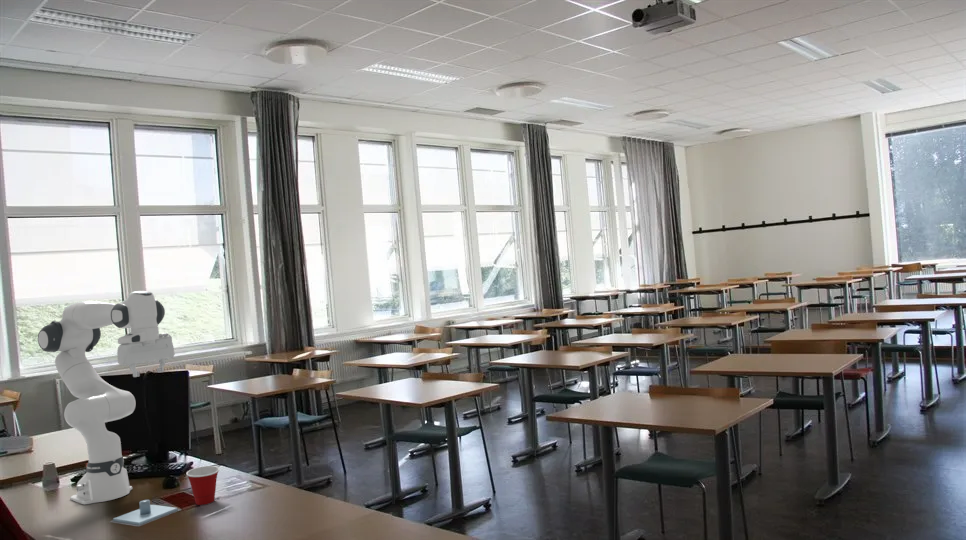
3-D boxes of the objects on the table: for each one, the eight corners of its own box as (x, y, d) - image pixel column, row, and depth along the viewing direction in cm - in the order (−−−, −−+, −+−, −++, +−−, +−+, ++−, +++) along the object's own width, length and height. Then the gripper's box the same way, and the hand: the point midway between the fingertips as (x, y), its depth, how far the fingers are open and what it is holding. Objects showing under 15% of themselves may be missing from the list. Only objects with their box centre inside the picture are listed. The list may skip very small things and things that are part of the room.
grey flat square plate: (108, 523, 227) (108, 521, 227) (152, 507, 241) (152, 505, 241) (138, 528, 220) (138, 526, 220) (182, 511, 234) (182, 509, 234)
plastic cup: (199, 511, 232) (196, 475, 232) (182, 507, 238) (179, 472, 239) (228, 501, 241) (225, 466, 241) (211, 497, 247) (208, 464, 247)
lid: (113, 520, 228) (112, 506, 228) (151, 506, 240) (150, 493, 240) (139, 524, 221) (138, 510, 221) (177, 510, 233) (176, 496, 233)
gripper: (165, 333, 256) (168, 370, 256) (113, 339, 238) (116, 379, 238) (176, 332, 253) (179, 369, 253) (124, 339, 235) (127, 379, 235)
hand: (148, 374), depth 245 cm, fingers open, 8 cm apart
